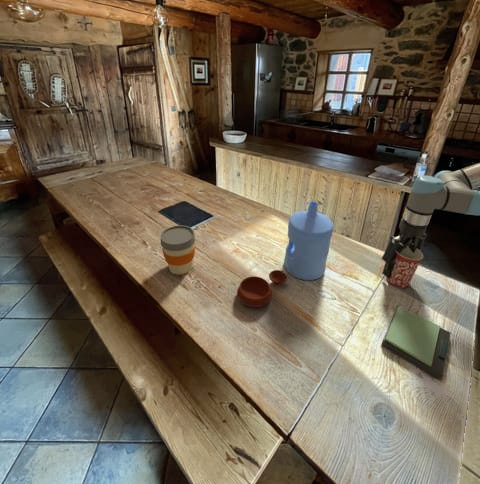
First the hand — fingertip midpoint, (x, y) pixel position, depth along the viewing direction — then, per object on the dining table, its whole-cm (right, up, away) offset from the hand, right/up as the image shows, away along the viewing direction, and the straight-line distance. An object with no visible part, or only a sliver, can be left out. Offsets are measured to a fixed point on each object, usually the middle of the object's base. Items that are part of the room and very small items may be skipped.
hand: (395, 273), depth 99 cm
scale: (-7, -13, -22) cm, 27 cm away
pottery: (-50, -5, -6) cm, 50 cm away
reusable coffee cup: (-81, +1, +5) cm, 81 cm away
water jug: (-33, +1, +6) cm, 33 cm away
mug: (+1, -2, +1) cm, 2 cm away
